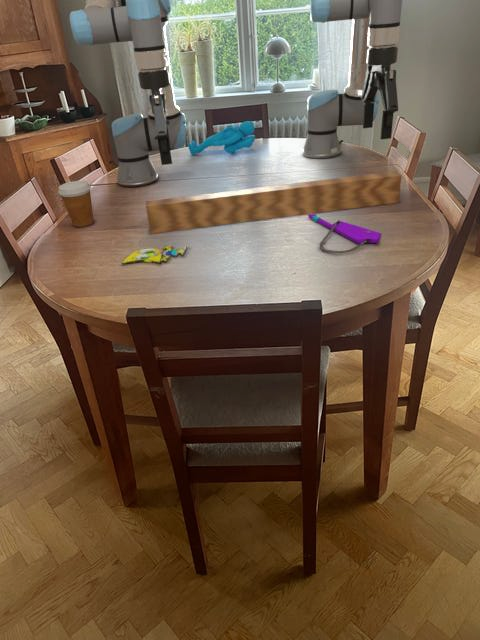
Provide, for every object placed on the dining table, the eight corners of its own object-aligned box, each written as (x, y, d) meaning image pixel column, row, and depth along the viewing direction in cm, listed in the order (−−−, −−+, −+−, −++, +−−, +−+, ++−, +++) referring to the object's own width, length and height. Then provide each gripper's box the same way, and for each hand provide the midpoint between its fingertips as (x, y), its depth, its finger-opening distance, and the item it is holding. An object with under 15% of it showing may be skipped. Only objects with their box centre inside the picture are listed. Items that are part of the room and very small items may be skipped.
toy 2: (193, 134, 218) (255, 115, 207) (201, 157, 223) (262, 139, 212) (182, 144, 204) (248, 123, 194) (191, 168, 209) (255, 149, 199)
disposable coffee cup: (61, 227, 148) (50, 189, 141) (80, 216, 155) (71, 179, 149) (86, 230, 145) (76, 191, 138) (105, 218, 152) (96, 180, 145)
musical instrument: (364, 263, 114) (392, 222, 127) (364, 255, 113) (391, 215, 125) (276, 252, 127) (309, 216, 139) (275, 245, 126) (308, 210, 138)
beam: (150, 233, 139) (145, 206, 134) (151, 228, 142) (146, 201, 138) (398, 202, 144) (401, 175, 140) (392, 197, 148) (395, 171, 143)
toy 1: (178, 260, 119) (121, 261, 122) (179, 264, 120) (122, 264, 122) (187, 243, 128) (133, 244, 130) (187, 246, 128) (134, 247, 131)
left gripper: (168, 74, 108) (182, 168, 120) (167, 62, 129) (178, 144, 141) (135, 78, 108) (152, 172, 120) (139, 65, 128) (153, 146, 140)
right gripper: (418, 48, 113) (408, 142, 125) (378, 41, 133) (372, 122, 145) (387, 52, 112) (380, 145, 124) (352, 44, 133) (348, 125, 145)
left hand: (166, 157), depth 130 cm, fingers open, 13 cm apart
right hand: (376, 133), depth 135 cm, fingers open, 13 cm apart
